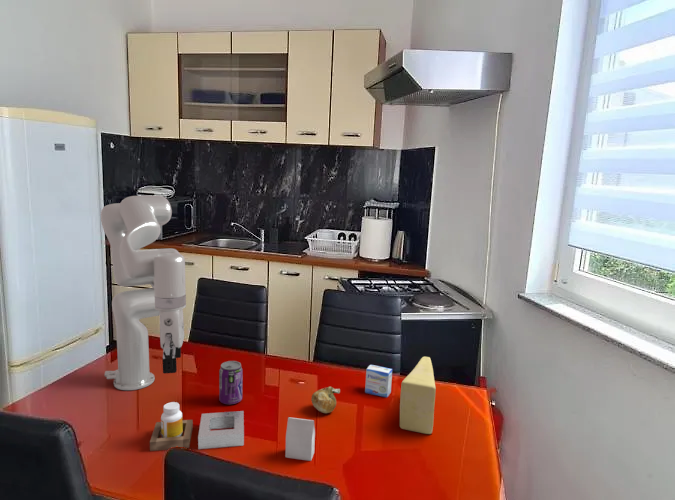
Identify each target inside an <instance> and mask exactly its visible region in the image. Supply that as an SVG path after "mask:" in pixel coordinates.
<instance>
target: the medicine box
mask: <svg viewBox="0 0 675 500" xmlns="http://www.w3.org/2000/svg"><path fill="white" fill-rule="evenodd" d="M365 370H366V373H365V388H364V393H365V394H367V395H368V394H369V395H373V396H379V397H382V398H386V399H387V398H388V397H389V396H390V394H391V393H392V382H393V381H392V379H393V368H388V367H384V366H380V365H374V364H369V365H368V366H367V368H366V369H365Z"/></svg>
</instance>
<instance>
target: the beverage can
mask: <svg viewBox="0 0 675 500" xmlns="http://www.w3.org/2000/svg"><path fill="white" fill-rule="evenodd" d="M242 367H243V366H242V363H241V362H239V361H237V360H228V361H224V362H222V363H221V364H220V369H219V371H218V373H219V377H218V382H219V383H218V385H219V386H218V389H219V394H218V395H219V396H218V397H219V399H218V400H219V401H220V403H222V404H225V405H230V406H231V405H235V404H237V403H239V402H241V401H242V400H243V381H244V380H243V377H244V376H243V368H242Z"/></svg>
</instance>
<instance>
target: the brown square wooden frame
mask: <svg viewBox="0 0 675 500" xmlns="http://www.w3.org/2000/svg"><path fill="white" fill-rule="evenodd" d="M193 421H194V420H193V419H182V422H183V436H181V437H168V438H162V435H161V421H156V422H155V425H154V429H153V432H152V434H151V438H150V440H149V451H150V452H155V451H166V450H168V449H169V448H171V447H176V446H178V447H185V448H184V449H189V448H190V446H191V439H192V433H193V430H194V429H193V428H194V427H193V426H194V422H193ZM169 450H170V449H169Z"/></svg>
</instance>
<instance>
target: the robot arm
mask: <svg viewBox="0 0 675 500" xmlns="http://www.w3.org/2000/svg"><path fill="white" fill-rule="evenodd" d="M172 213H173V210H172V206H171V203H170V201H169V200H168V199H167V198H166V197H165V196H163V195H131V196H127V197H125V198H123V199H122V200H121V202H120V203H119V202H118V203H117V202H116V203H110V204H107V205H105V206H103V207H102V209H101V211H100V221H101V225H102V226H101V227H102V229H103V231H104V234H105V235H106V237H107V240H108V243H109V245H110V253H111V261H112V262H111V263H112V273H113V278H114V282H115V284H117V285H118V286H120V287H123V288H124V287H136V286H145V285H151V287H149V288H142V289H133V290H125V291H121V292H119V293H117V294H115V295H114V296H113V298H112V300H111V308H112V312H113V313H112V314H113V318H114V322H115V323H114V324H115V330H116V331H115V332H116V349H117V369H115V370H105V371H104V377H105V378H106V380H113V386H114V388H115V389H117V390H121V391H137V390H141V389H144V388H146V387H149V386H150V385H152V384H153V383H154V381H155V374H154V373H152V372H150V352H149V351H150V349H149V330H148V328H147V327H146V325H145V324H144V323H142V322H141V321H140V320H142V319H146V318H152V317H158V316H159V340H160V341H159V343H160V348H161V349H162V374H175V373H177V371H178V369H177V359H179V358H181V356H182V349H181V348H182V346H183V343H184V341H185V340H184V339H185V324H184V323H185V321H184V309H185V308H186V307H187V297H186V296H187V294H186V291H187V290H186V288H187V287H186V259H185V256H184V255H182V254H181V253H180V252H179V250H177V249H176V248H172V247H171V248H169V247H168V248H151V249H150V248H149V249H142V248H144V247H146V246H149V245H151V244H152V243H154V242H156V240H157V239H158V238H160V234H161V232H162V230H161V227H162V226H164V225H166V224H167V223H168V222H169V221H170V220H171V218H172Z"/></svg>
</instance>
